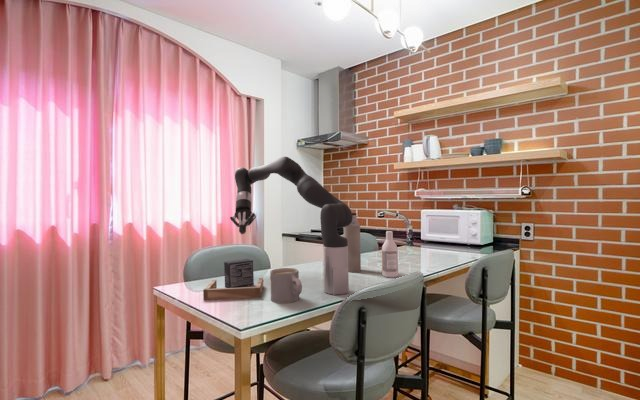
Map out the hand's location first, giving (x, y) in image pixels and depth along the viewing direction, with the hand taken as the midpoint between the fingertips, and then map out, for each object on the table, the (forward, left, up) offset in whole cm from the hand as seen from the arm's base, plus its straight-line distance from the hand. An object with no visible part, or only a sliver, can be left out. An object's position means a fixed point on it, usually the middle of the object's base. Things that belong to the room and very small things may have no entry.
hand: (242, 233), depth 165 cm
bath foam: (-30, -61, -20) cm, 71 cm away
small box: (-19, +4, -20) cm, 28 cm away
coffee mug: (-47, -9, -20) cm, 52 cm away
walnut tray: (-29, +7, -20) cm, 36 cm away
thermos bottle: (-12, -51, -20) cm, 56 cm away
